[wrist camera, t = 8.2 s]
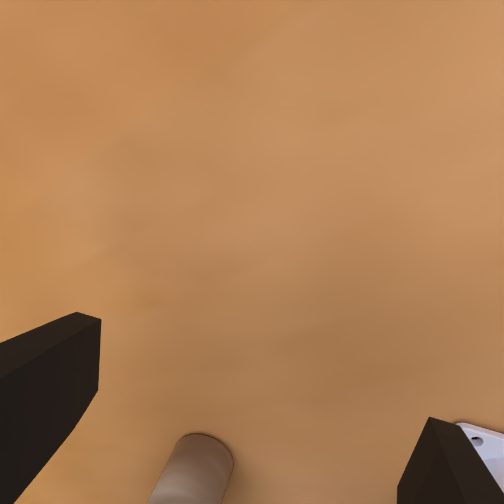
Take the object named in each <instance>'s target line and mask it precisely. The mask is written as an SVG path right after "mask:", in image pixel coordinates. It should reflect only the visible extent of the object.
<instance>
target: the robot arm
mask: <svg viewBox="0 0 504 504" xmlns="http://www.w3.org/2000/svg"><path fill="white" fill-rule="evenodd" d="M100 338H101V319H99V318H95V317H92V316H89V315H85V314H82V313H79V312H75V313H72V314H69V315H67V316H64V317H62V318H59V319H57V320H54V321H52V322H49V323H47V324H45V325H42V326H40V327H37V328H35V329H33V330H30V331H28V332H26V333H23V334H21V335H18V336H16V337H14V338H11V339H9V340H6V341H4V342H2V343H0V504H14V502H15V501H16V500H17V499H18V497H19V496H20V495H21V494H22V493H23V491H24V490H25V489H26V488H27V486H28V485H29V484H30V483H31V482H32V480H33V479H34V478H35V477H36V475H37V474H38V473H39V472H40V471H41V469H42V468H43V467H44V466H45V464H46V463H47V462H48V461H49V460H50V458H51V457H52V456H53V455H54V453H55V452H56V451H57V450H58V448H59V447H60V446H61V445H62V443H63V442H64V441H65V440H66V438H67V437H68V436H69V435H70V433H71V432H72V431H73V429H74V428H75V426H76V425H77V423H78V422H79V420H80V419H81V417H82V416H83V414H84V412H85V411H86V409H87V408H88V406H89V404H90V403H91V401H92V399H93V398H94V396H95V394H96V393H97V391H98V381H99V359H100ZM472 437H480V438H479V439H471V438H472ZM397 504H504V434H502V433H498V432H495V431H492V430H488V429H485V428H482V427H478V426H475V425H471V424H468V423H457V424H452V423H449V422H445V421H442V420H439V419H435V418H432V417H429V418H428V420H427V422H426V424H425V427H424V429H423V431H422V433H421V435H420V438H419V440H418V442H417V444H416V446H415V449H414V451H413V453H412V455H411V457H410V460H409V462H408V464H407V466H406V468H405V471H404V473H403V475H402V477H401V479H400V482H399V484H398V486H397Z"/></svg>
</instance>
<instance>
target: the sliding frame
mask: <svg viewBox="0 0 504 504" xmlns="http://www.w3.org/2000/svg"><path fill="white" fill-rule="evenodd" d="M232 470H233V459H232V456H231V454H230V453H229V451H228V450H227V449H226V447H225V446H223V445H222V444H221V443H220V442H218V441H217V440H215V439H213V438H211V437H208V436H205V435H198V434H193V435H188V436H185V437H183V438H181V439H180V440H179V441H178V442H177V444H176V446H175V448H174V450H173V452H172V454H171V456H170V458H169V460H168V462H167V464H166V466H165V468H164V470H163V472H162V474H161V476H160V478H159V480H158V482H157V484H156V486H155V488H154V490H153V492H152V494H151V496H150V498H149V500H148V502H147V504H221V503H222V500H223V497H224V494H225V491H226V488H227V485H228V482H229V479H230V476H231V473H232Z"/></svg>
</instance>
